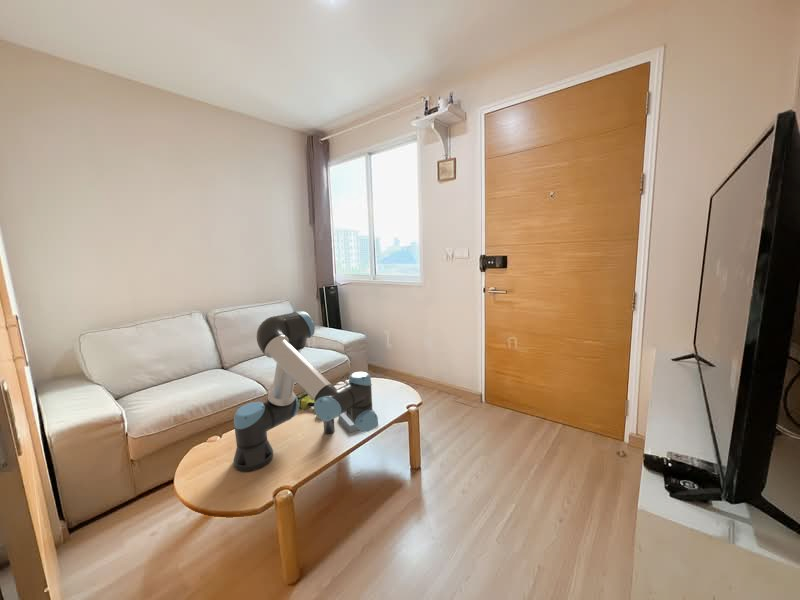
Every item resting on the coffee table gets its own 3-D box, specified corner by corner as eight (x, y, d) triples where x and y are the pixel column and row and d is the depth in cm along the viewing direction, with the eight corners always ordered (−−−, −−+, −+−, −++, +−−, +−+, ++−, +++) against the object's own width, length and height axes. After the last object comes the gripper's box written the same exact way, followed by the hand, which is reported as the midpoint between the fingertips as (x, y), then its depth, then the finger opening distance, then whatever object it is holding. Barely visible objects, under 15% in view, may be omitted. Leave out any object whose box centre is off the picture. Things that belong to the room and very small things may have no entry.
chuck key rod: (326, 435, 154) (323, 399, 151) (322, 430, 158) (320, 395, 155) (336, 432, 156) (334, 397, 153) (332, 427, 161) (330, 393, 158)
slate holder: (350, 432, 156) (349, 425, 155) (338, 419, 168) (338, 412, 168) (377, 423, 164) (377, 416, 163) (364, 411, 176) (364, 405, 176)
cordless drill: (325, 390, 202) (356, 400, 189) (292, 408, 182) (324, 420, 169) (324, 379, 201) (355, 388, 188) (291, 396, 181) (323, 408, 167)
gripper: (319, 424, 118) (303, 402, 136) (380, 405, 131) (358, 387, 149) (318, 405, 117) (302, 385, 135) (379, 388, 130) (357, 372, 148)
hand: (331, 386), depth 142 cm, fingers open, 13 cm apart
